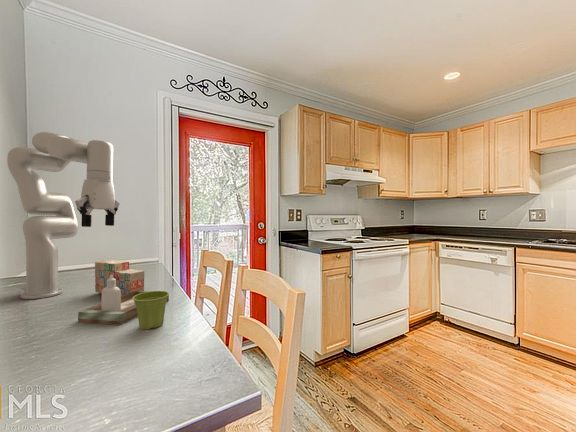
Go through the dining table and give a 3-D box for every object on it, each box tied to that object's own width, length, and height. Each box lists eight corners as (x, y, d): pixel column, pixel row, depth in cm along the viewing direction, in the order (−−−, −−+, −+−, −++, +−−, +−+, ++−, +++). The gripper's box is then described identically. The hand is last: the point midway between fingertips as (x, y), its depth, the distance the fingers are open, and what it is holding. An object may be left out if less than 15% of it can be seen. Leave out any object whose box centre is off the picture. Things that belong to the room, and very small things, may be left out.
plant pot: (155, 333, 74) (154, 300, 74) (124, 330, 76) (124, 299, 76) (175, 320, 83) (175, 291, 83) (148, 318, 85) (148, 290, 85)
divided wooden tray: (78, 322, 82) (78, 311, 82) (134, 298, 106) (134, 290, 106) (120, 324, 80) (120, 314, 80) (168, 300, 104) (168, 292, 104)
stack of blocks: (144, 294, 109) (144, 262, 109) (129, 298, 103) (129, 265, 103) (110, 288, 118) (110, 259, 118) (94, 292, 112) (94, 261, 112)
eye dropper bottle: (116, 310, 89) (116, 272, 90) (121, 314, 86) (121, 275, 86) (100, 313, 86) (100, 274, 86) (105, 318, 82) (105, 277, 82)
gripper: (110, 180, 107) (108, 224, 107) (67, 173, 90) (65, 226, 90) (127, 180, 105) (126, 225, 105) (87, 173, 88) (86, 227, 88)
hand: (98, 226), depth 98 cm, fingers open, 9 cm apart
